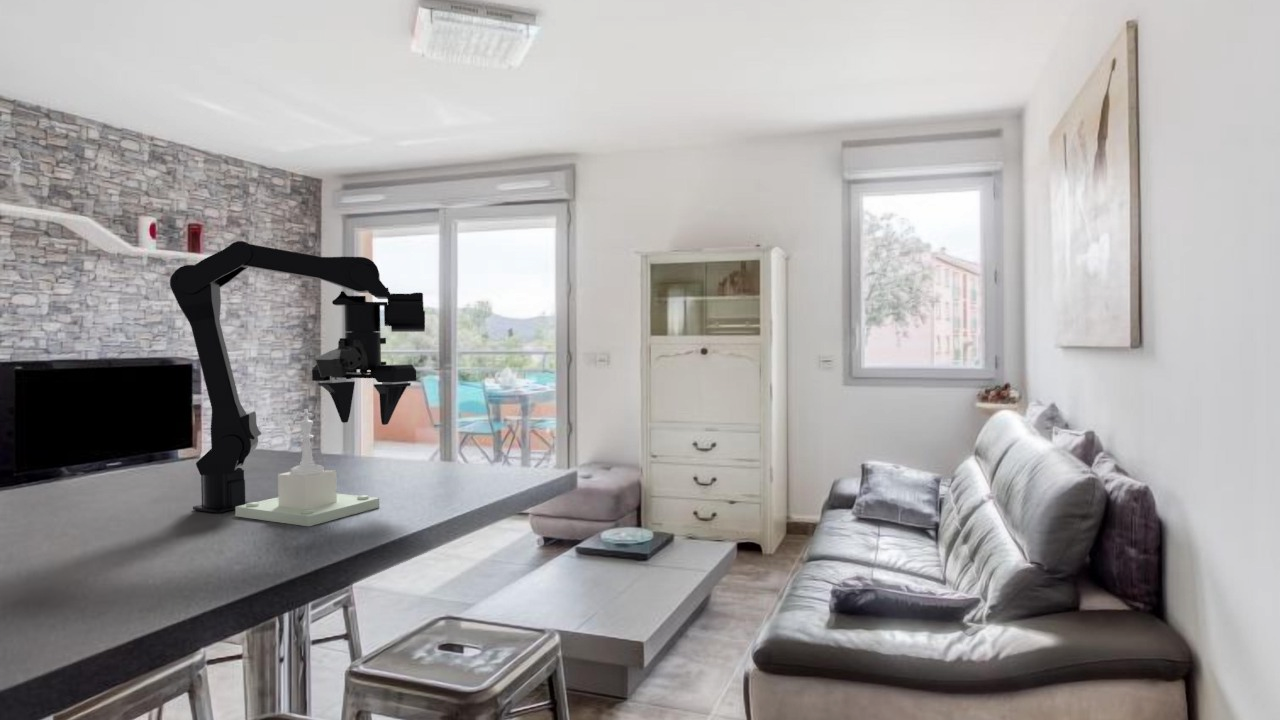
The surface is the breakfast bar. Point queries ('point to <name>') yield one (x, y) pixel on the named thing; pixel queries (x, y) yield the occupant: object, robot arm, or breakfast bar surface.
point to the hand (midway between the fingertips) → (364, 423)
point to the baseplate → (307, 510)
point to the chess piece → (306, 450)
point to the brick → (307, 490)
